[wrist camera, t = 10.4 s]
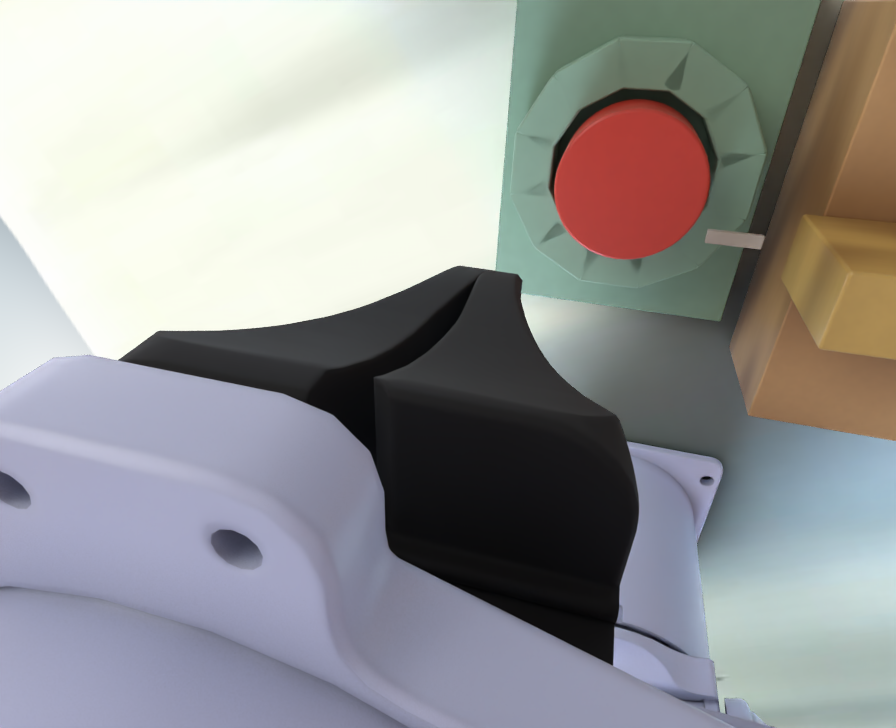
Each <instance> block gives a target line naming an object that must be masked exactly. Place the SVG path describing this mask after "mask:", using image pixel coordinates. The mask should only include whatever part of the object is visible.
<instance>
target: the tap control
mask: <svg viewBox="0 0 896 728" xmlns="http://www.w3.org/2000/svg"><path fill="white" fill-rule="evenodd" d="M820 3H821V0H517V11H516V24H515V36H514V48H513V61H512V73H511V86H510V98H509V110H508V123H507V135H506V147H505V160H504V172H503V184H502V197H501V209H500V221H499V234H498V246H497V259H496V271H500V272H507V273H514V274H518V275H519V276H520V278H521V279H522V280H523V282H522V290H521V293H522V294H529V295H536V296H543V297H550V298H557V299H564V300H571V301H578V302H585V303H592V304H599V305H606V306H613V307H621V308H628V309H635V310H642V311H649V312H656V313H663V314H670V315H677V316H684V317H691V318H698V319H705V320H712V321H721V319H722V315H723V312H724V309H725V306H726V303H727V299H728V296H729V293H730V290H731V287H732V284H733V280H734V277H735V274H736V271H737V268H738V264H739V261H740V258H741V255H742V252H743V247H735V246H726V245H718V244H709V243H705V237H706V234H707V230H708V229H716V230H725V231H734V232H743V233H749V229H750V226H751V223H752V220H753V217H754V213H755V210H756V207H757V204H758V201H759V198H760V194H761V191H762V188H763V185H764V182H765V178H766V175H767V172H768V169H769V166H770V162H771V159H772V156H773V153H774V150H775V147H776V143H777V140H778V137H779V134H780V131H781V127H782V124H783V121H784V118H785V115H786V112H787V108H788V105H789V102H790V99H791V96H792V92H793V89H794V86H795V83H796V80H797V76H798V73H799V70H800V67H801V64H802V61H803V57H804V54H805V51H806V48H807V45H808V41H809V38H810V35H811V32H812V29H813V26H814V22H815V19H816V16H817V13H818V10H819V6H820ZM632 99H646V100H653V101H657V102H660V103H664V104H666V105H668V106H670V107H672V108H674V109H675V110H677V111H678V112H680V113H681V114H682V115H683V116H684V117H685V118H686V119H687V120H688V121H689V122H690V123H691V125H692V126H693V128H694V129H695V131H696V133H697V134H698V136H699V138H700V140H701V142H702V144H703V146H704V149H705V151H706V154H707V157H708V161H709V165H710V176H711V177H710V189H709V194H708V198H707V201H706V204H705V207H704V209H703V211H702V213H701V215H700V217H699V218H698V220H697V221H696V223H695V224H694V225H693V227H692V228H691V229H690V230H689V231H688V233H687V234H685V235H684V236H683V237H682V238H681V239H680V240H679V241H677V242H676V243H675V244H673V245H672V246H670V247H668V248H667V249H665V250H663V251H661V252H659V253H656V254H654V255H651V256H647V257H643V258H638V259H626V260H624V259H613V258H608V257H604V256H601V255H598V254H596V253H594V252H591V251H589V250H588V249H586V248H585V247H583V246H582V245H580V244H579V243H578V242H577V241H576V240H575V239H574V238H573V237H572V236H571V235H570V234H569V233H568V231H567V230H566V228H565V227H564V225H563V223H562V222H561V220H560V217H559V215H558V212H557V209H556V204H555V196H554V185H555V177H556V172H557V169H558V166H559V163H560V160H561V158H562V156H563V154H564V152H565V150H566V148H567V146H568V144H569V142H570V140H571V138H572V137H573V135H574V134H575V132H576V131H577V130H578V128H579V127H580V126H581V125H582V124H583V123H584V122H585V121H586V120H587V119H588V118H589V117H591V116H592V115H593V114H595V113H596V112H597V111H599V110H601V109H603V108H604V107H607V106H609V105H611V104H614V103H617V102H621V101H625V100H632Z"/></svg>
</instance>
